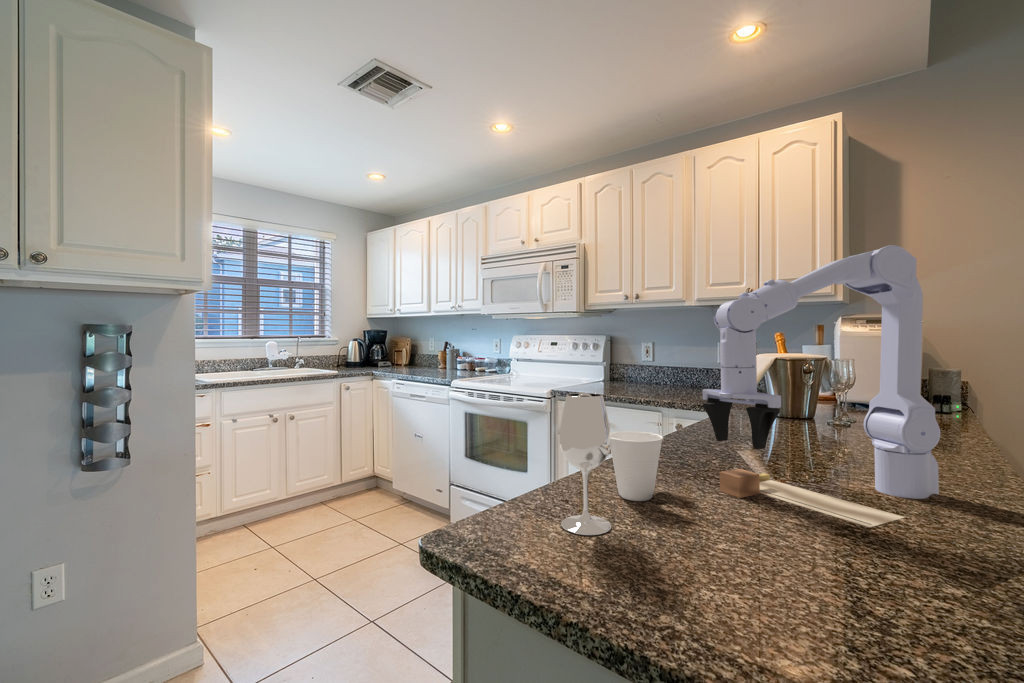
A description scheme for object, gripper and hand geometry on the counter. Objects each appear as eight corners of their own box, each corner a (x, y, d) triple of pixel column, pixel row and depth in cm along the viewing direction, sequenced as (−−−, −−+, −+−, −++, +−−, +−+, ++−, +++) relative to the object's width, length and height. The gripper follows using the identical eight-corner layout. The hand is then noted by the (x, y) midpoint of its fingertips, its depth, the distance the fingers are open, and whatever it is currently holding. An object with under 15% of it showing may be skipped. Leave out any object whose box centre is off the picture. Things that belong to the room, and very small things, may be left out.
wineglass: (617, 521, 73) (615, 393, 73) (605, 540, 65) (603, 398, 66) (569, 513, 76) (568, 391, 76) (553, 531, 69) (551, 396, 69)
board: (770, 487, 89) (769, 479, 89) (905, 527, 69) (905, 517, 69) (736, 493, 85) (736, 485, 85) (869, 537, 65) (869, 527, 65)
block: (757, 492, 86) (756, 465, 86) (777, 499, 82) (776, 471, 83) (720, 500, 82) (719, 471, 82) (739, 507, 79) (739, 477, 79)
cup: (667, 507, 79) (666, 442, 79) (608, 503, 81) (607, 440, 81) (660, 489, 88) (660, 431, 89) (607, 486, 90) (607, 430, 91)
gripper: (690, 366, 87) (691, 439, 87) (759, 369, 74) (761, 455, 73) (717, 365, 90) (718, 435, 90) (789, 368, 77) (790, 450, 76)
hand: (739, 444), depth 82 cm, fingers open, 7 cm apart
